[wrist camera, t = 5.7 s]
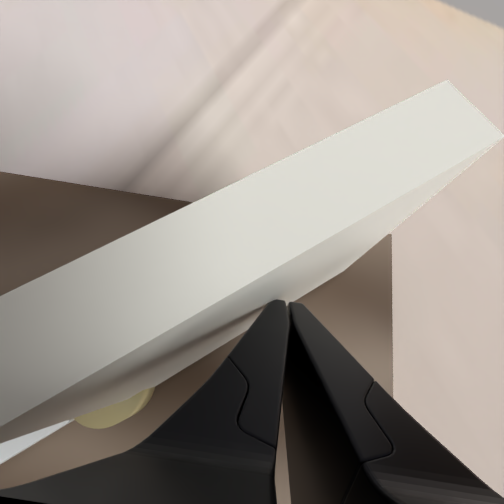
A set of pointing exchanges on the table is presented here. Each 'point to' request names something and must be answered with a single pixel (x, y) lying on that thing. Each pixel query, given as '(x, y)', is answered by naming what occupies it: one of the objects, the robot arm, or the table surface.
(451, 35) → the table surface
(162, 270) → the upright white panel
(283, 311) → the robot arm
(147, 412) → the tuner board
